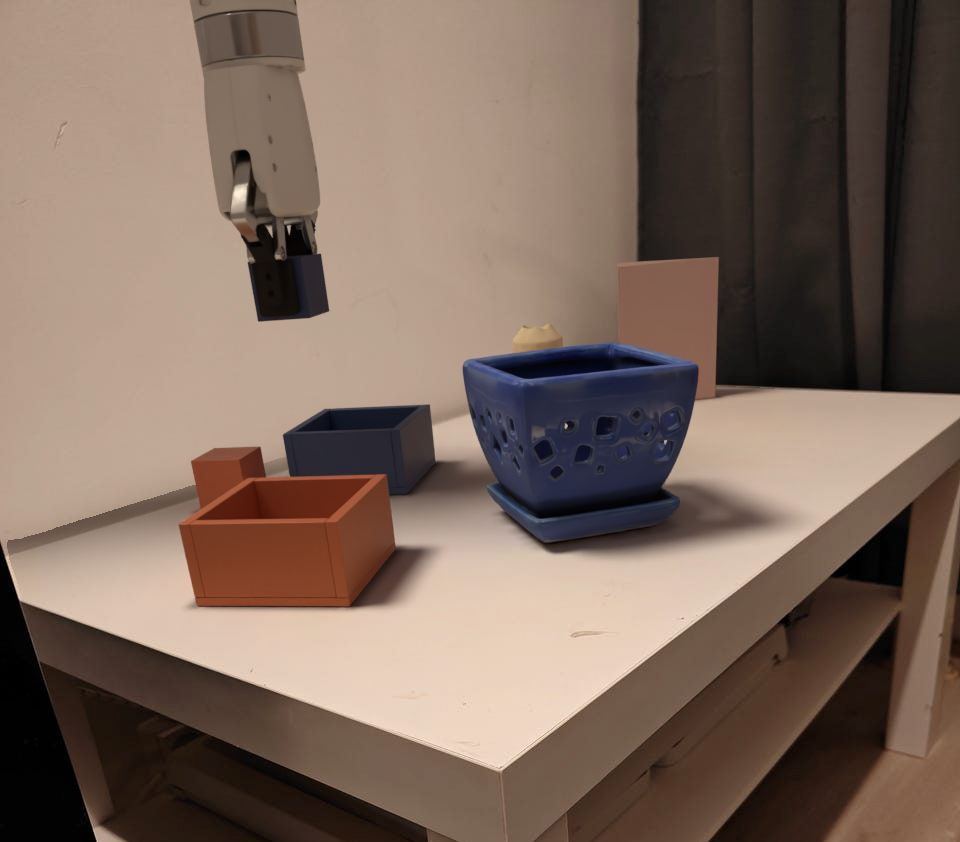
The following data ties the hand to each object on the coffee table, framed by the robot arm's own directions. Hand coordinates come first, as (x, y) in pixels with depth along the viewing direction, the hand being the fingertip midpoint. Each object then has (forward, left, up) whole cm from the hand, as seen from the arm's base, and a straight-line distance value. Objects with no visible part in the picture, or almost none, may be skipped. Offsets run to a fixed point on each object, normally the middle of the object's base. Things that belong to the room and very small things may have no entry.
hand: (293, 309), depth 76 cm
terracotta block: (-7, -2, -16) cm, 17 cm away
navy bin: (+3, +5, -16) cm, 17 cm away
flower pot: (+24, -8, -16) cm, 30 cm away
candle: (+16, +29, -16) cm, 37 cm away
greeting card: (+29, +35, -16) cm, 48 cm away
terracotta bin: (+6, -20, -16) cm, 26 cm away
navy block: (0, 0, -1) cm, 1 cm away
